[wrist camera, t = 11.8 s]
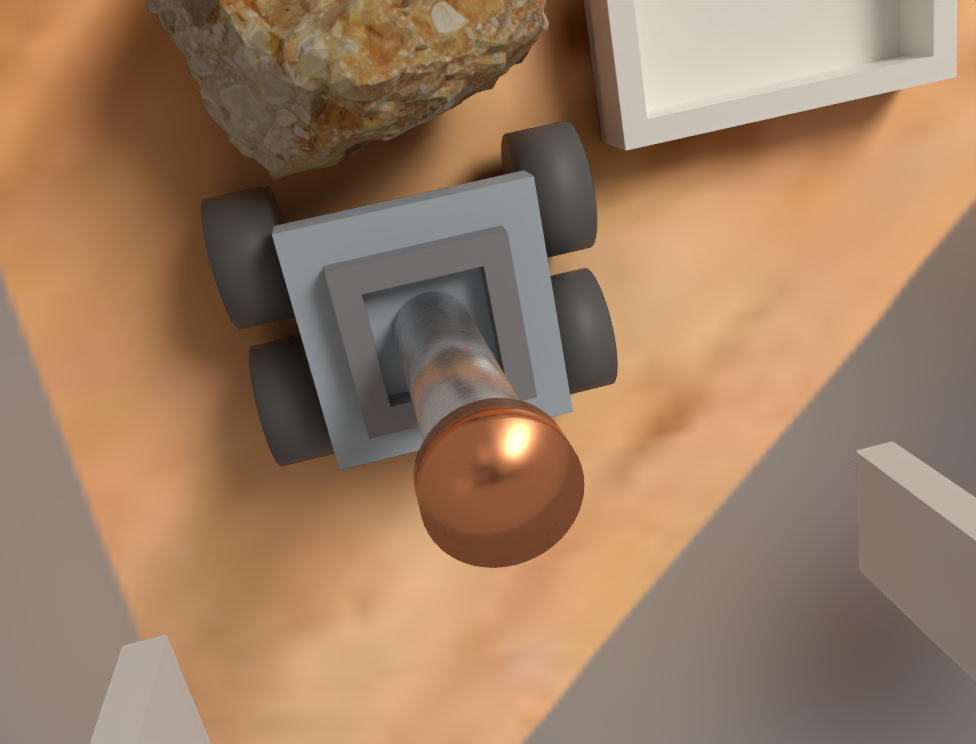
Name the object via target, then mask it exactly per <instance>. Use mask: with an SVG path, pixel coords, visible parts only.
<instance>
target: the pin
mask: <svg viewBox="0 0 976 744" xmlns="http://www.w3.org/2000/svg"><path fill="white" fill-rule="evenodd" d="M393 334H394V340H395V343H396V347H397V350H398V354H399V357H400V361H401V364H402V368H403V371H404V375H405V378H406V382H407V385H408V389H409V392H410V396H411V399H412V403H413V406H414V410H415V413H416V417H417V420H418V424H419V427H420V431H421V434H422V438H423V443H422V445H421V447H420V449H419V451H418V454H417V458H416V461H415V467H414V485H415V491H416V495H417V500H418V504H419V508H420V512H421V516H422V520H423V523H424V526H425V528H426V530H427V532H428V534H429V535H430V537H431V538H432V540H433V541H434V542H435V543H436V544H437V545H438V546H439V547H440V549H442V550H443V551H444V552H446V553H447V554H448V555H450V556H451V557H453V558H455V559H457V560H459V561H461V562H464V563H467V564H470V565H474V566H479V567H490V568H497V567H507V566H512V565H517V564H520V563H523V562H526V561H529V560H531V559H533V558H535V557H537V556H539V555H541V554H542V553H544V552H546V551H547V550H548V549H550V548H551V547H553V546H554V545H555V544H556V543H557V542H558V541H559V540H560V539H561V538H562V537H563V536H564V535H565V534H566V533H567V531H568V530H569V529H570V527H571V526H572V524H573V523H574V521H575V519H576V517H577V515H578V513H579V510H580V507H581V504H582V500H583V495H584V475H583V470H582V466H581V463H580V461H579V458H578V456H577V454H576V453H575V451H574V449H573V448H572V446H571V445H570V443H569V441H568V440H567V438H566V437H565V435H564V434H563V432H562V431H561V429H560V427H559V426H558V425H557V424H556V422H555V421H554V420H553V419H552V418H551V417H550V416H549V415H548V414H547V413H545V412H544V411H542V410H541V409H540V408H538V407H536V406H534V405H532V404H530V403H527V402H524V401H521V400H519V399H518V397H517V395H516V393H515V392H514V390H513V388H512V387H511V385H510V383H509V381H508V380H507V378H506V376H505V374H504V373H503V371H502V369H501V368H500V366H499V364H498V362H497V361H496V359H495V357H494V356H493V354H492V352H491V350H490V349H489V347H488V345H487V343H486V342H485V340H484V338H483V337H482V335H481V333H480V331H479V330H478V328H477V326H476V325H475V323H474V321H473V319H472V318H471V316H470V314H469V312H468V311H467V309H466V307H465V306H464V305H463V304H462V303H461V302H460V301H459V300H458V299H457V298H455V297H454V296H452V295H450V294H447V293H444V292H438V291H430V292H424V293H421V294H418V295H416V296H414V297H412V298H411V299H409V300H408V301H407V302H406V303H405V304H404V305H403V306H402V307H401V308H400V310H399V311H398V313H397V315H396V318H395V321H394V327H393Z"/></svg>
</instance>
